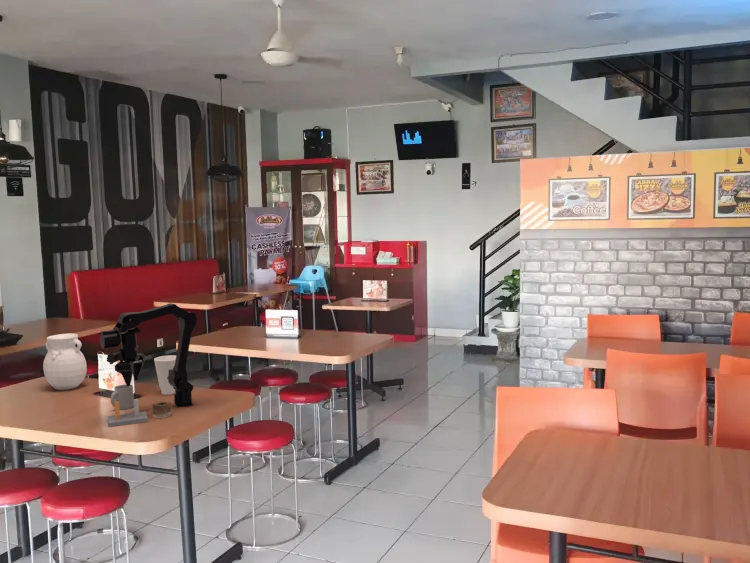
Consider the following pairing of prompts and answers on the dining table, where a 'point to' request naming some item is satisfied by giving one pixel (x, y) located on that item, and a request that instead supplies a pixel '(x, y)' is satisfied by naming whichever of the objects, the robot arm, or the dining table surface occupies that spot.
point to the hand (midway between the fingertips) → (132, 383)
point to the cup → (123, 397)
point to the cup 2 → (165, 372)
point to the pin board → (127, 416)
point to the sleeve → (162, 410)
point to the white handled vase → (64, 361)
